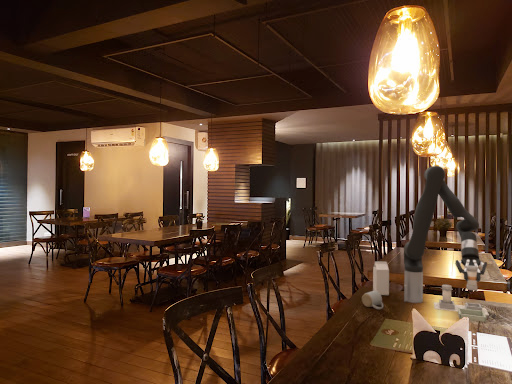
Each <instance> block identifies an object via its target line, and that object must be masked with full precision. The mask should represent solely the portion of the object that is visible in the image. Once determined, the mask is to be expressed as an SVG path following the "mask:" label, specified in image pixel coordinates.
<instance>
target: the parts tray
mask: <svg viewBox="0 0 512 384" xmlns="http://www.w3.org/2000/svg"><path fill="white" fill-rule="evenodd" d="M457 314H458V319H459V320H462V319H461V318H463V317H468V318H469V320H468V321H477V322H483V323H484V322H485V323H487V315H485V313H484V311H479V310H471V309H462V308H458V312H457Z"/></svg>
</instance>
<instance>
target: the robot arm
mask: <svg viewBox="0 0 512 384" xmlns="http://www.w3.org/2000/svg"><path fill="white" fill-rule="evenodd" d="M423 176H424V179H425V184H424V185H425V186H424V188H423V192H422V194H421V196H420V197H419V200H418V202H417V205H416V207H415V211H414V215H413V221H412V222H413V223H412V233H411V236H410V239H409V241H407V242H406V243H405V244H404V247H403V264H404V265H403V266H404V285H403V287H404V288H403V290H404V291H403V295H404V296H403V297H404V298H403V299H404V300H403V303H406V302H407V303H411V304H422V303H423V301H424V299H423V298H424V297H423V296H424V295H423V294H424V291H423V290H424V284H423V283H424V276H423V275H424V266H423V256H424V254H425V248H426V242H427V236H428V233H429V232H430V227H431V225H432V221H433V219H434V214H435V212H436V207H437V202H438V197H440V198H441V200H442V201H443V203H444V205H445V206H446V208H447V209H448V211H449V212H450V214H451V216H452V217H453V218H455V219H458V218H463V219H462V220H459V221H457V222H456V225H455V228H456V230H457V232H458V234H459V237H460V251H461V252H460V253H461V259H460V260H458V259H457V260H456V259H455V266H456V268H457V270H458V272H459V274H463V279H464V281H466V282H467V281H468V274H467V265H473V266H477V283H479V282H480V281H481V279H482V277H481V275H485V272H486V270H487V265H488V262H483V261H481V259H480V252H479V246H478V240H477V234H475V232H474V231H477V230H478V229H479V228H480V223H479V221H478V220H477V218H475V216H473V214H471V213H470V212H469V211H468V210H467V209H466V208H465V206H464V205H463V203H462V201H461V200H460V199H459V198H458V196H457V195H456V194H455V193H454V192H453V191H452V189H451V188H450V187H449V186H448V184H447V183H446V181H445V177H446V172H445V170H444V168H443V167H442V166H439V165H434V166H430V167H428V168H427V169H426V170H424V174H423ZM462 265H463V266H464V269H463V267H462ZM479 266H481V268H482V269H481V270H480V268H479Z"/></svg>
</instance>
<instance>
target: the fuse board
mask: <svg viewBox="0 0 512 384" xmlns="http://www.w3.org/2000/svg"><path fill="white" fill-rule="evenodd" d="M442 302H443V299H438V302H435V301H434V302H433V309H434V310H442V311H448V312H449V311H451V312H456V313H458V308H462V309H471V310H479V311H484V313H485V315H486V316H490V314H489V312H488V310H487V309H486V307H482V304H481V303H474V302H464V305H463V304H455V302H454V300H451V303H452V304H448V303H442Z"/></svg>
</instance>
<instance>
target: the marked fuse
mask: <svg viewBox="0 0 512 384" xmlns="http://www.w3.org/2000/svg"><path fill="white" fill-rule="evenodd" d="M467 274H468V281H466V289H467V290H469V291H478V282H477V266H473V265H467Z"/></svg>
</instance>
